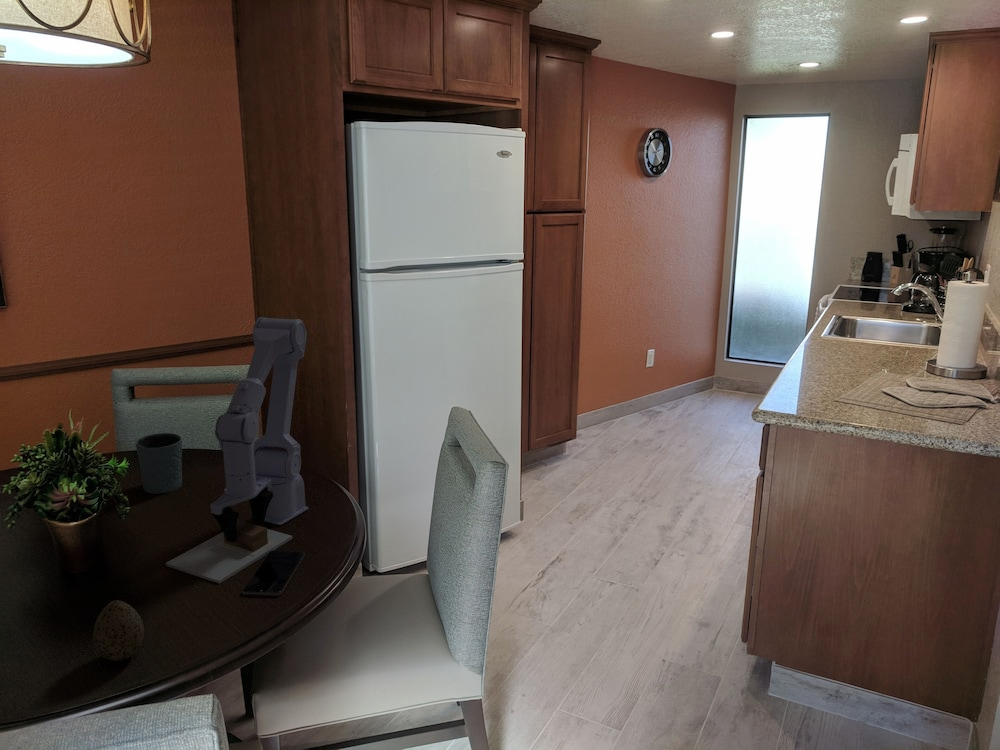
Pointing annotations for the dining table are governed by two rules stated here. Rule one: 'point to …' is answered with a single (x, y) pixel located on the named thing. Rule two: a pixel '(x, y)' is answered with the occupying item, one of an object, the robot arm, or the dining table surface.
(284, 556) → the smartphone
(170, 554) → the dining table surface
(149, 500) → the dining table surface
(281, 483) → the robot arm
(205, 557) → the mat
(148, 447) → the grey pot
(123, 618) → the decorative egg
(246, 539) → the brown block
